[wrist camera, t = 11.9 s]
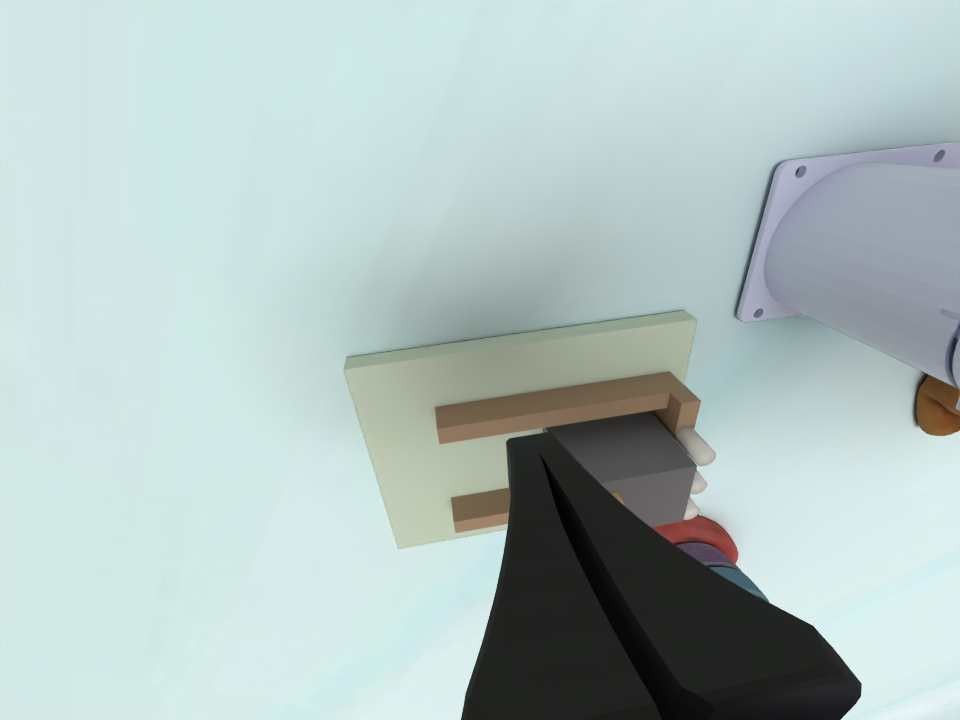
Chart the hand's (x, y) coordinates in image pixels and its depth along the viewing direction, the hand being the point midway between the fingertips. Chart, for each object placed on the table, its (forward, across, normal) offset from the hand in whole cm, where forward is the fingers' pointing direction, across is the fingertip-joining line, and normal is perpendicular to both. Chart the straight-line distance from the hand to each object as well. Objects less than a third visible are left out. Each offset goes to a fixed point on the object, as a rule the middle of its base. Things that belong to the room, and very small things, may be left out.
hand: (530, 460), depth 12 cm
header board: (+10, -2, +8) cm, 13 cm away
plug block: (+9, -6, +8) cm, 13 cm away
